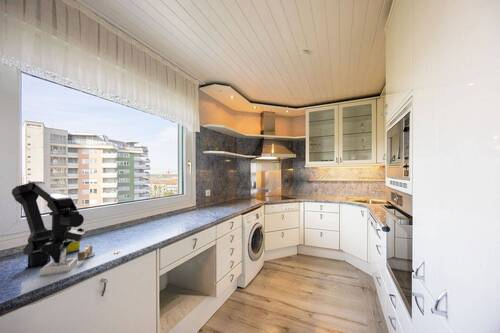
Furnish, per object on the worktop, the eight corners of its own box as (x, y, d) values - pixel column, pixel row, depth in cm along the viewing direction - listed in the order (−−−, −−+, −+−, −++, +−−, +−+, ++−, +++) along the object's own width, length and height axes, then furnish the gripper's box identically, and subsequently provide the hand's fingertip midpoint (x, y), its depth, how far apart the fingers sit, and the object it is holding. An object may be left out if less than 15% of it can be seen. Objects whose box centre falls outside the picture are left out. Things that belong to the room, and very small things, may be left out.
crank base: (80, 258, 105) (80, 256, 105) (84, 255, 110) (84, 253, 110) (118, 253, 111) (118, 252, 111) (119, 250, 116) (119, 248, 116)
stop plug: (51, 266, 92) (52, 251, 92) (56, 262, 95) (56, 248, 95) (63, 265, 93) (63, 249, 93) (67, 261, 97) (67, 247, 97)
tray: (39, 276, 88) (39, 269, 88) (51, 266, 97) (51, 261, 97) (68, 271, 91) (68, 265, 91) (77, 263, 100) (77, 257, 100)
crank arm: (85, 252, 110) (86, 244, 110) (92, 252, 111) (93, 244, 111) (76, 263, 97) (76, 253, 97) (84, 261, 98) (84, 252, 98)
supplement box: (76, 248, 120) (77, 229, 120) (79, 251, 116) (79, 230, 116) (62, 251, 115) (63, 231, 116) (65, 254, 111) (65, 233, 112)
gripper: (74, 228, 89) (74, 266, 89) (89, 219, 106) (88, 251, 106) (40, 231, 85) (39, 271, 84) (61, 221, 102) (60, 254, 102)
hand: (59, 261), depth 94 cm, fingers closed on stop plug, 4 cm apart
